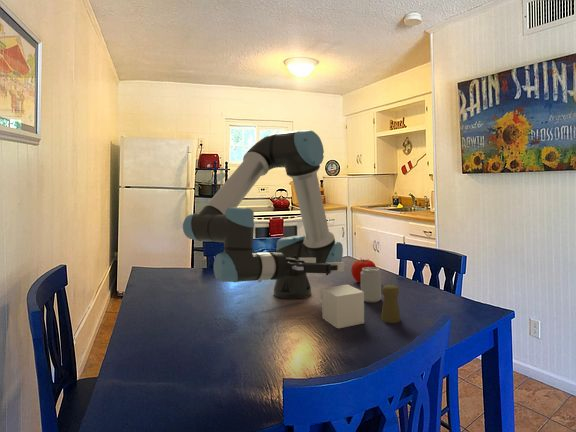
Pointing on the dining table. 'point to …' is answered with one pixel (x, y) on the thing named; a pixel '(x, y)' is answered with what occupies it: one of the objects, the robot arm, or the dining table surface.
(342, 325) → the cream rounded cube
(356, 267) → the tomato
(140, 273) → the dining table surface
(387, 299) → the cork
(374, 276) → the can
